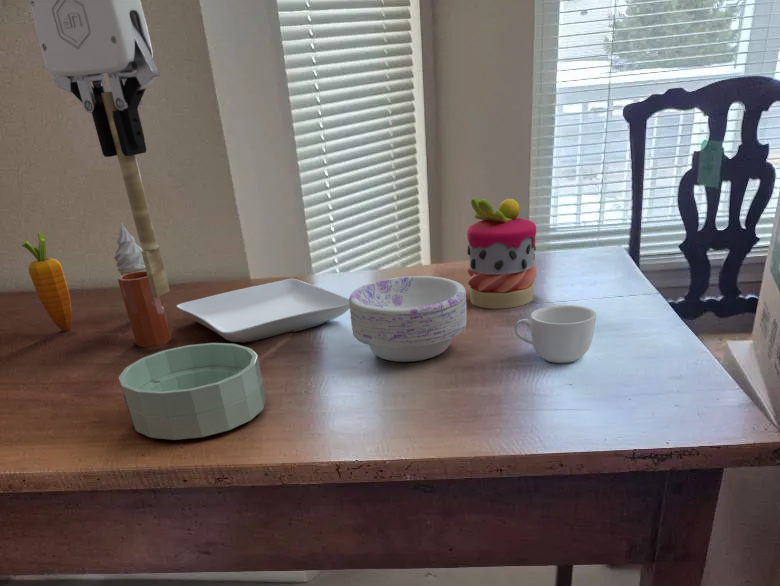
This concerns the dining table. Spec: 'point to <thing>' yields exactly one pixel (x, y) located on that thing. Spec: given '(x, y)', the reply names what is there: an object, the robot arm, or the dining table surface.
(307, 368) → the dining table surface
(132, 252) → the ice cream cone
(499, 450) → the dining table surface
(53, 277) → the carrot
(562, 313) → the teacup
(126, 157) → the stirring stick
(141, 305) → the utensil crock
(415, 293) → the paper bowls
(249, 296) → the plate
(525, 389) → the dining table surface
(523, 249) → the cake
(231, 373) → the mixing bowl
